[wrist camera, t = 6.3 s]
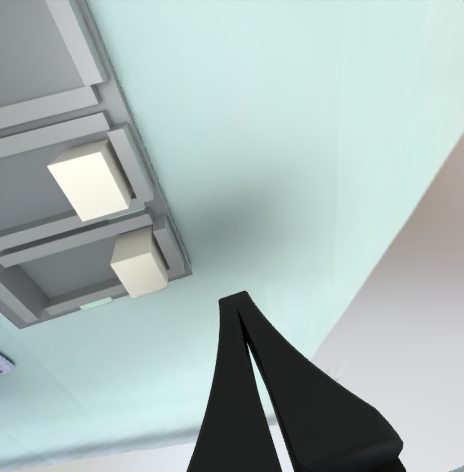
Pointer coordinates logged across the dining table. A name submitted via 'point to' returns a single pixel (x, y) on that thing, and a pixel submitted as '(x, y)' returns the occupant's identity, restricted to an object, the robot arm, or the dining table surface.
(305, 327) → the dining table surface
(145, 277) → the tab
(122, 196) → the tab
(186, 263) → the switch bank
